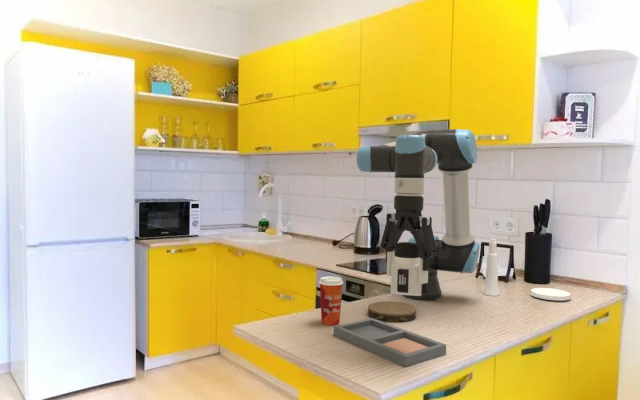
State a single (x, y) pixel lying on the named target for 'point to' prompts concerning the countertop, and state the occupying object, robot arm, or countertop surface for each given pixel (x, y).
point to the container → (406, 270)
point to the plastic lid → (550, 294)
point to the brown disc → (392, 311)
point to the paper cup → (330, 299)
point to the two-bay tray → (390, 341)
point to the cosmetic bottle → (491, 271)
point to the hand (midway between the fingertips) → (406, 279)
